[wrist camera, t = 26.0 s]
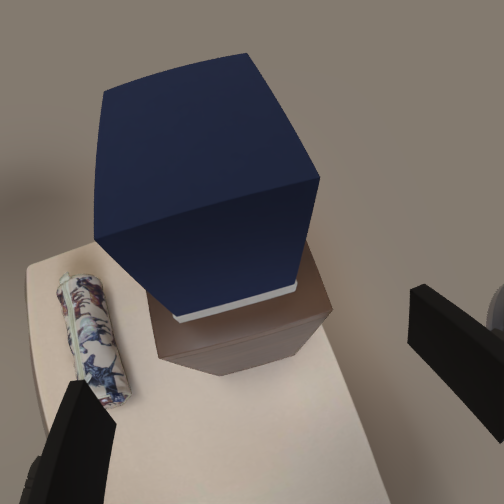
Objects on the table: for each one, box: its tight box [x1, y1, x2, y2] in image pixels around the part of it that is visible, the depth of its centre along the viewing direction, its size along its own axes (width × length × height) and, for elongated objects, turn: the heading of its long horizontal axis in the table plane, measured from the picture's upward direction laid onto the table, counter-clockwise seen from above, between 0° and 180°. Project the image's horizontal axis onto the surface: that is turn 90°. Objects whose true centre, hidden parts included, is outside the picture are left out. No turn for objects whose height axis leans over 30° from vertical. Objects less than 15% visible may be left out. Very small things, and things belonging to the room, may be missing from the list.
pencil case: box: [57, 272, 132, 409], centre depth 42 cm, size 22×8×10 cm, turn 23°
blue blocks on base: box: [94, 53, 320, 323], centre depth 19 cm, size 22×8×12 cm, turn 16°
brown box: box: [146, 241, 333, 376], centre depth 37 cm, size 26×12×28 cm, turn 16°
